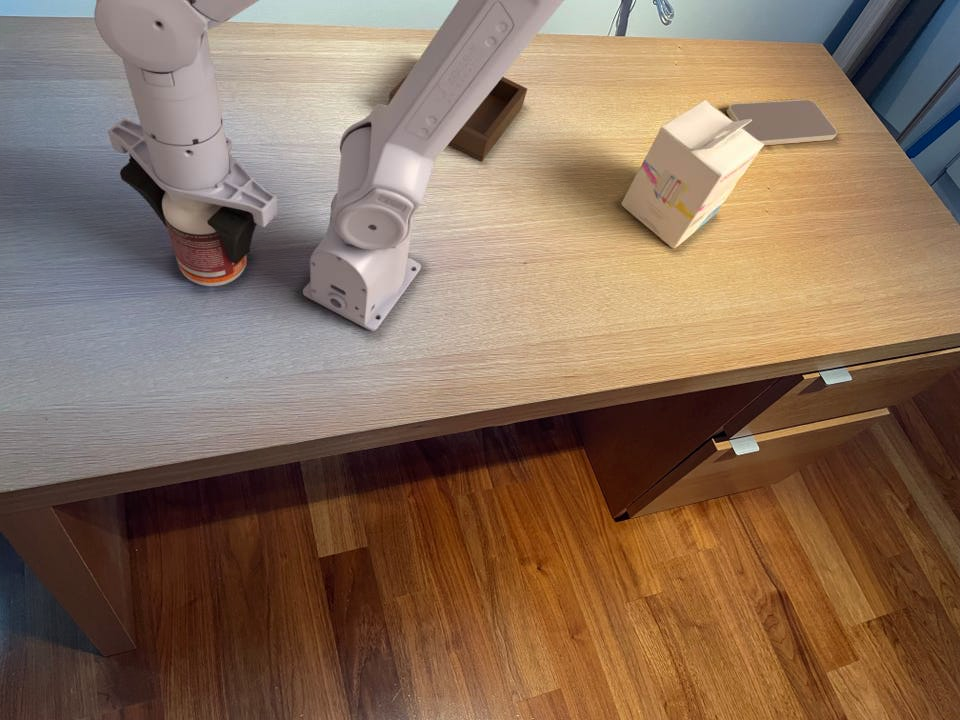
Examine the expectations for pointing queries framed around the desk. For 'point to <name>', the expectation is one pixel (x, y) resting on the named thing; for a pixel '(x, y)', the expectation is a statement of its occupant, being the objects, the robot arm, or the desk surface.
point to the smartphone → (783, 121)
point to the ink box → (690, 172)
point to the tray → (487, 118)
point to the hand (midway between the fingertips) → (208, 239)
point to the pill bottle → (198, 242)
